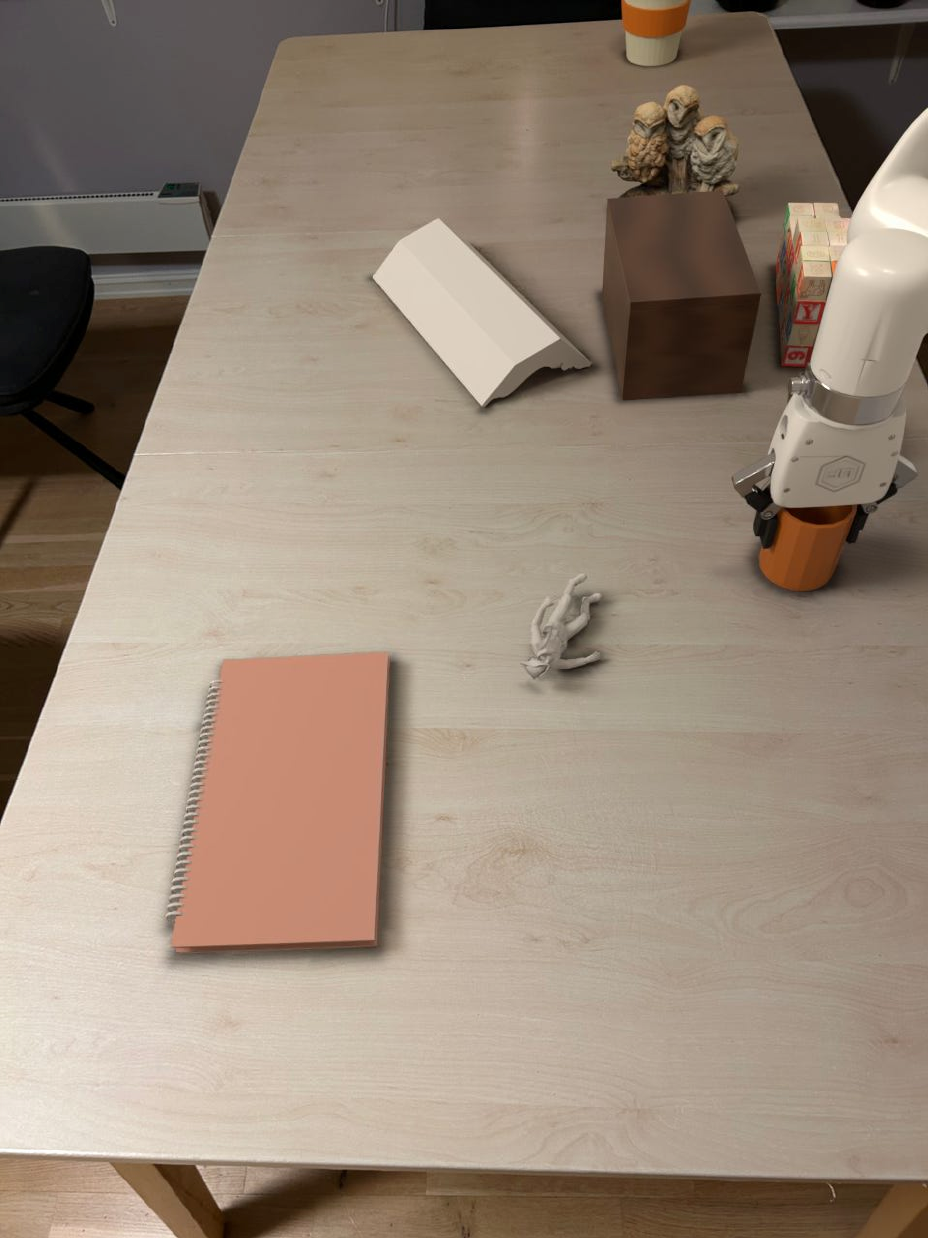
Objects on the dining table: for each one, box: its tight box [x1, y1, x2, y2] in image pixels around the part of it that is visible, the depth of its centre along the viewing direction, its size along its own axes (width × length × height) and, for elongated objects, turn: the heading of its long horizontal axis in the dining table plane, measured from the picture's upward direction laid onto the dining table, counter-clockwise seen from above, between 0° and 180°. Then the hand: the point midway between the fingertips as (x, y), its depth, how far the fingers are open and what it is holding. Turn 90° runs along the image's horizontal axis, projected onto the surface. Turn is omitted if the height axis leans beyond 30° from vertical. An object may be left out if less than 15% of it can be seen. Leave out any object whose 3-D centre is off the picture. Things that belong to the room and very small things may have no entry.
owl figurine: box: [610, 84, 740, 217], centre depth 129 cm, size 18×12×17 cm, turn 77°
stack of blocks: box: [775, 202, 851, 368], centre depth 114 cm, size 21×6×12 cm, turn 171°
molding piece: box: [372, 217, 593, 408], centre depth 122 cm, size 32×12×10 cm
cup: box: [758, 504, 858, 592], centre depth 90 cm, size 7×7×9 cm
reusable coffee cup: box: [621, 0, 692, 67], centre depth 163 cm, size 13×13×15 cm
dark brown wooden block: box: [601, 190, 763, 401], centre depth 112 cm, size 14×22×13 cm, turn 1°
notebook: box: [165, 650, 391, 954], centre depth 80 cm, size 27×17×2 cm, turn 1°
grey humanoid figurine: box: [519, 572, 603, 681], centre depth 88 cm, size 8×5×12 cm
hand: (805, 534), depth 90 cm, fingers closed on cup, 7 cm apart
